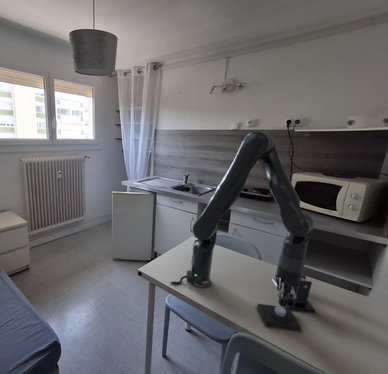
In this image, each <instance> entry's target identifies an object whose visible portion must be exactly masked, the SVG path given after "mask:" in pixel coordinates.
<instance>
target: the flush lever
mask: <svg viewBox="0 0 388 374" xmlns="http://www.w3.org/2000/svg"><path fill="white" fill-rule="evenodd" d="M301 280H302V281H307V279H304V278H301ZM271 282H272V283H273V285H274V286H275V288H276V289H277V284H276V278H274V277H272V278H271ZM296 284H298V283H296Z"/></svg>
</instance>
